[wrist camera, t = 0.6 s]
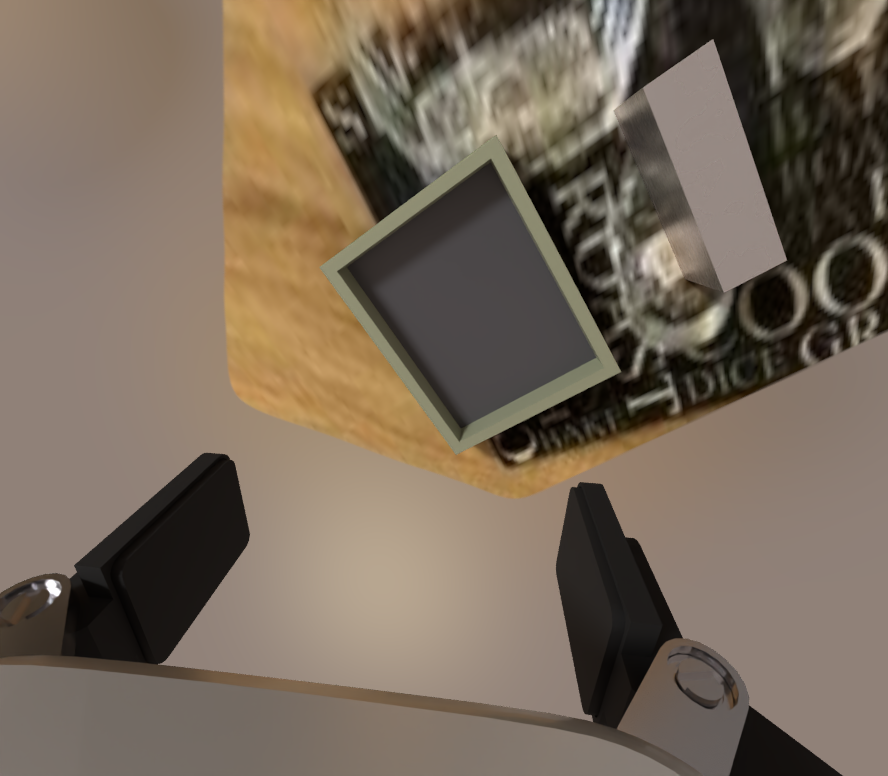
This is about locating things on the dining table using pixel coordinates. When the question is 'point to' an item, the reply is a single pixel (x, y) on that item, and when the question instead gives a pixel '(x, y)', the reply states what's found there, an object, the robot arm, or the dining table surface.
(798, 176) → the dining table surface
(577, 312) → the case
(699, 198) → the bar
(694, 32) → the dining table surface
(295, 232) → the dining table surface
